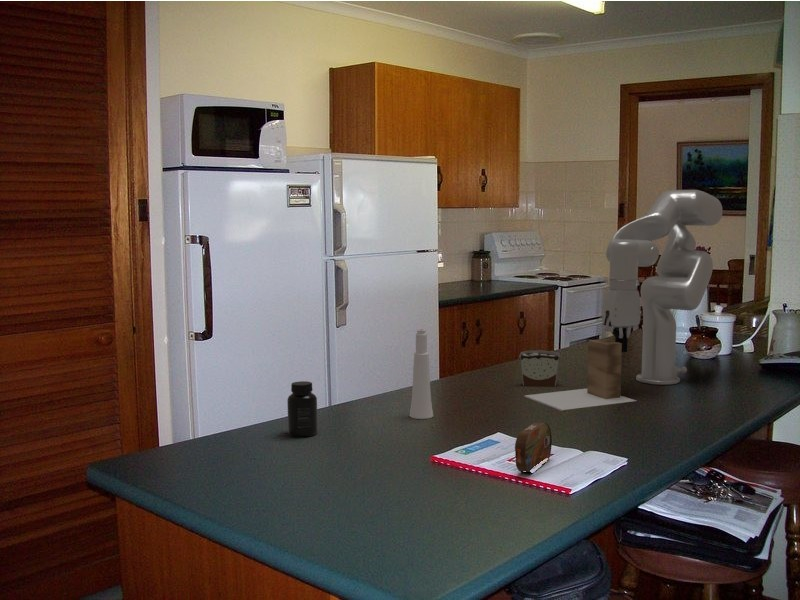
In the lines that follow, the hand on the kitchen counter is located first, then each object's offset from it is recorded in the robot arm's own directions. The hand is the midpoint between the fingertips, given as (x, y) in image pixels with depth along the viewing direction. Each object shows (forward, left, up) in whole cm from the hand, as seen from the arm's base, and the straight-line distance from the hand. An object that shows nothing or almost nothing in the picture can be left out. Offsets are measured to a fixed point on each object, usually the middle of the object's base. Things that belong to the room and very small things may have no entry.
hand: (621, 351), depth 227 cm
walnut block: (+5, 0, -12) cm, 13 cm away
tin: (+57, +44, -13) cm, 73 cm away
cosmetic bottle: (+60, -2, -13) cm, 62 cm away
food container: (+13, -20, -13) cm, 27 cm away
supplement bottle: (+92, +1, -13) cm, 93 cm away
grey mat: (+13, 0, -12) cm, 18 cm away
